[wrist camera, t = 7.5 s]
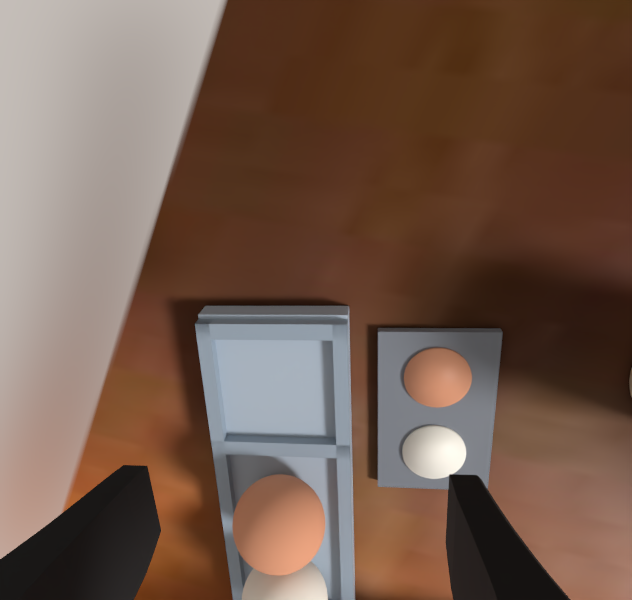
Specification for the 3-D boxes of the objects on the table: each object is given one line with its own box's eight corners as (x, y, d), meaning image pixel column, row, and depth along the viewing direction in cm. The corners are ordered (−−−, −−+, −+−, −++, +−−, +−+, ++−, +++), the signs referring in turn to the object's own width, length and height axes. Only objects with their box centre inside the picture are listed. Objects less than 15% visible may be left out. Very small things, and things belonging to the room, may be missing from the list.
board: (348, 305, 21) (347, 319, 20) (355, 638, 28) (355, 666, 27) (205, 306, 22) (194, 319, 21) (247, 630, 29) (240, 657, 28)
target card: (500, 328, 21) (503, 333, 20) (485, 485, 24) (488, 493, 23) (377, 327, 21) (377, 333, 21) (377, 480, 24) (377, 488, 24)
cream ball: (329, 534, 24) (321, 611, 21) (332, 595, 26) (325, 677, 22) (248, 530, 25) (226, 605, 21) (255, 589, 26) (236, 669, 23)
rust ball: (325, 455, 23) (321, 521, 19) (328, 524, 24) (325, 599, 21) (238, 455, 23) (217, 520, 20) (246, 524, 25) (228, 597, 21)
